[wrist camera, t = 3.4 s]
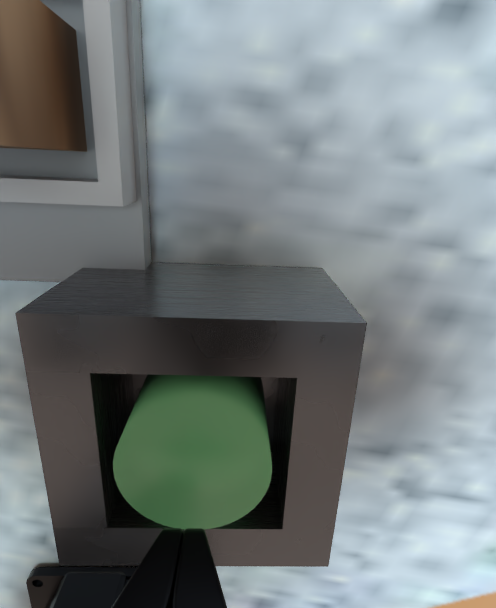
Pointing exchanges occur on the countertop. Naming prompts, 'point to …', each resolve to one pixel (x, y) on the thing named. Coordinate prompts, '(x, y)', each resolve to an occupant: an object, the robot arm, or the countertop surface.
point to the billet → (39, 80)
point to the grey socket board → (85, 162)
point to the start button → (195, 450)
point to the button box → (198, 362)
